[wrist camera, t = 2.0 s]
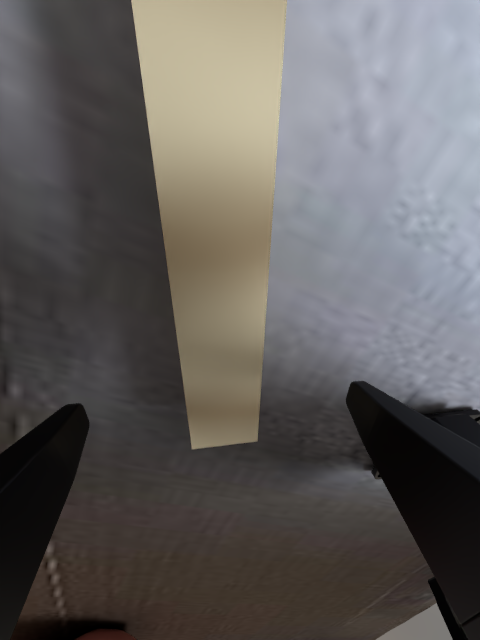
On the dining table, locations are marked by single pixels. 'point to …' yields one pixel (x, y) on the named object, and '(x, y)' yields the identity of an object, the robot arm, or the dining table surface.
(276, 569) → the dining table surface
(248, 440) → the stick
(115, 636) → the cell model
